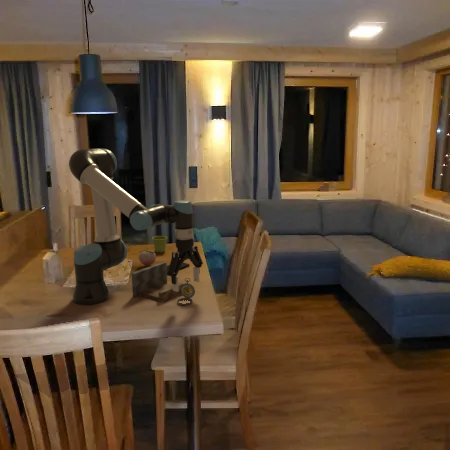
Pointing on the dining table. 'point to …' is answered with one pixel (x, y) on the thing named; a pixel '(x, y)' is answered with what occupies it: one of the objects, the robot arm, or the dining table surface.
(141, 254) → the decorative fruit
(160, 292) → the display stand
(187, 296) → the pocket watch
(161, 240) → the plant pot
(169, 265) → the smart home device
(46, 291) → the dining table surface
